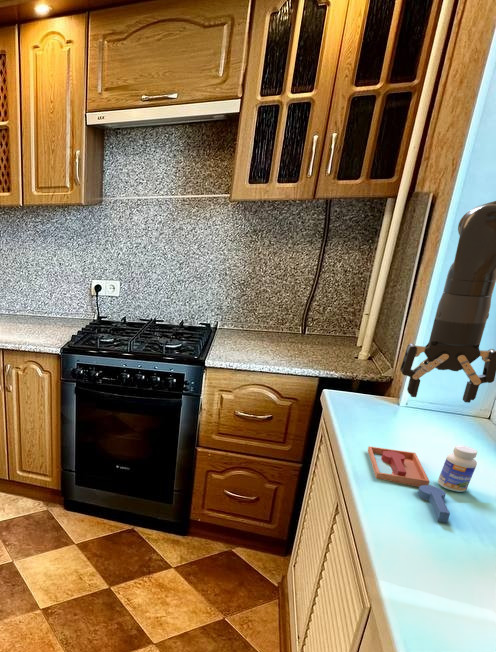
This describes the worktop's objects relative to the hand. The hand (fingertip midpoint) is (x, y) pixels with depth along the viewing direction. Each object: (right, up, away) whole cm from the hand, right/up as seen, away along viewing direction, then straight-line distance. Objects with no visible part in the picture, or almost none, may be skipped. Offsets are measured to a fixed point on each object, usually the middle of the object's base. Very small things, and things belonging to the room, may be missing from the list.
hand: (438, 398), depth 104 cm
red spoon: (+11, -17, +27) cm, 33 cm away
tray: (+11, -18, +27) cm, 34 cm away
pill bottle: (+18, -21, +19) cm, 33 cm away
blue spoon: (+8, -24, +11) cm, 27 cm away
